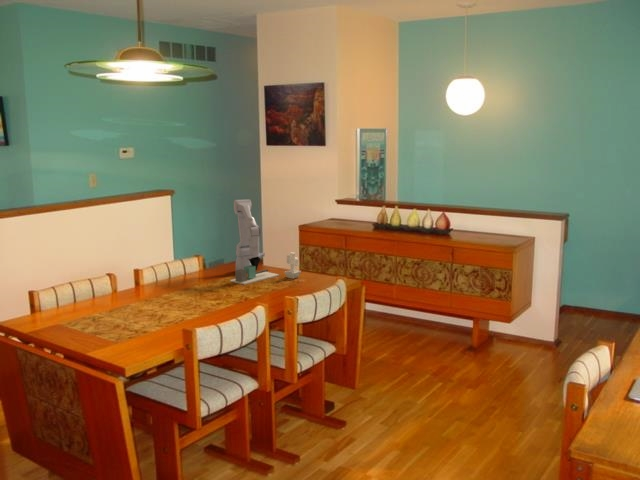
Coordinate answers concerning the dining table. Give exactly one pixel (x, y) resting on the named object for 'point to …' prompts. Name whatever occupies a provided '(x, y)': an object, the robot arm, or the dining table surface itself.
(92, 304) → the dining table surface
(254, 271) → the sleeve
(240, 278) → the rod stand
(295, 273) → the figurine
